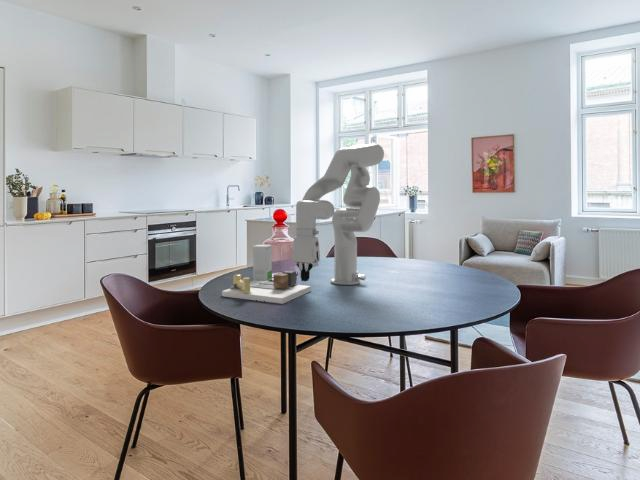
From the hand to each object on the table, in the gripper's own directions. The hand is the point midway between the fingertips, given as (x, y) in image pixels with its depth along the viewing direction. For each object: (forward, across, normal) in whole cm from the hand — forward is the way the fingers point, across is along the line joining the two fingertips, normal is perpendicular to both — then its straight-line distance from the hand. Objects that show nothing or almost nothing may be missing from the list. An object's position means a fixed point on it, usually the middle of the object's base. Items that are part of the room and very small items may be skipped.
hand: (305, 280), depth 179 cm
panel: (+5, +12, +7) cm, 15 cm away
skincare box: (+5, +27, -13) cm, 31 cm away
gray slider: (+2, +7, -1) cm, 8 cm away
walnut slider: (+2, +7, +6) cm, 10 cm away
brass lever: (+3, +19, +14) cm, 24 cm away
